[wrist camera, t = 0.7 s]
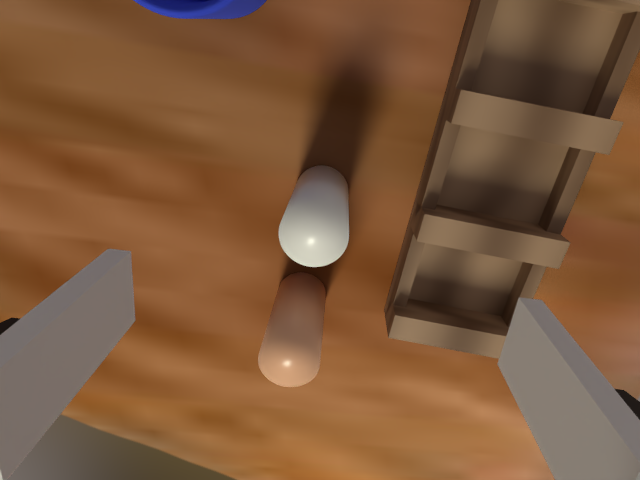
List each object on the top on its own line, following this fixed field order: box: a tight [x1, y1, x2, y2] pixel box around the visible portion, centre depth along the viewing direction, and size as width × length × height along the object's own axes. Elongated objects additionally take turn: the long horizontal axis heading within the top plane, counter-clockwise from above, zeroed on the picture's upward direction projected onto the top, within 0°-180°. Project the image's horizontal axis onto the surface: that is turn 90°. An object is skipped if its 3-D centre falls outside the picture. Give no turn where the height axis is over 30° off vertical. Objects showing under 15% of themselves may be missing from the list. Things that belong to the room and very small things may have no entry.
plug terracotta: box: [258, 272, 326, 387], centre depth 33 cm, size 4×4×9 cm
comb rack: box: [384, 0, 640, 359], centre depth 30 cm, size 10×26×4 cm, turn 170°
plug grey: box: [279, 165, 349, 267], centre depth 29 cm, size 4×4×9 cm
